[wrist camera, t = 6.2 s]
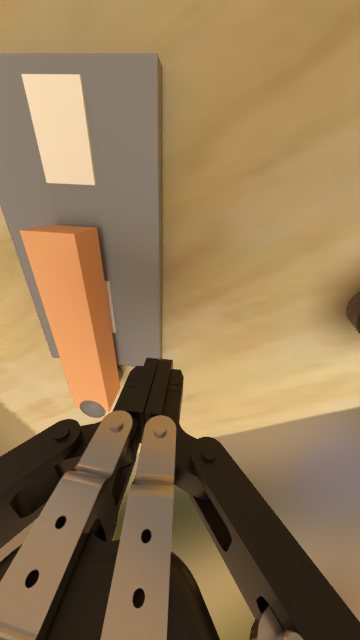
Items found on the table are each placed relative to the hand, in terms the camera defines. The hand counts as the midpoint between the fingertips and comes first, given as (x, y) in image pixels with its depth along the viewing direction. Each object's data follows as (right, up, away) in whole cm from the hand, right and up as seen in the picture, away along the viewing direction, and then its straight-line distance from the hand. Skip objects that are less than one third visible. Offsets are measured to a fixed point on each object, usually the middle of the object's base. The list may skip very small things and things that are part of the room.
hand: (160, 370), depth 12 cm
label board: (-8, +7, +10) cm, 15 cm away
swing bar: (-8, +2, +11) cm, 13 cm away
